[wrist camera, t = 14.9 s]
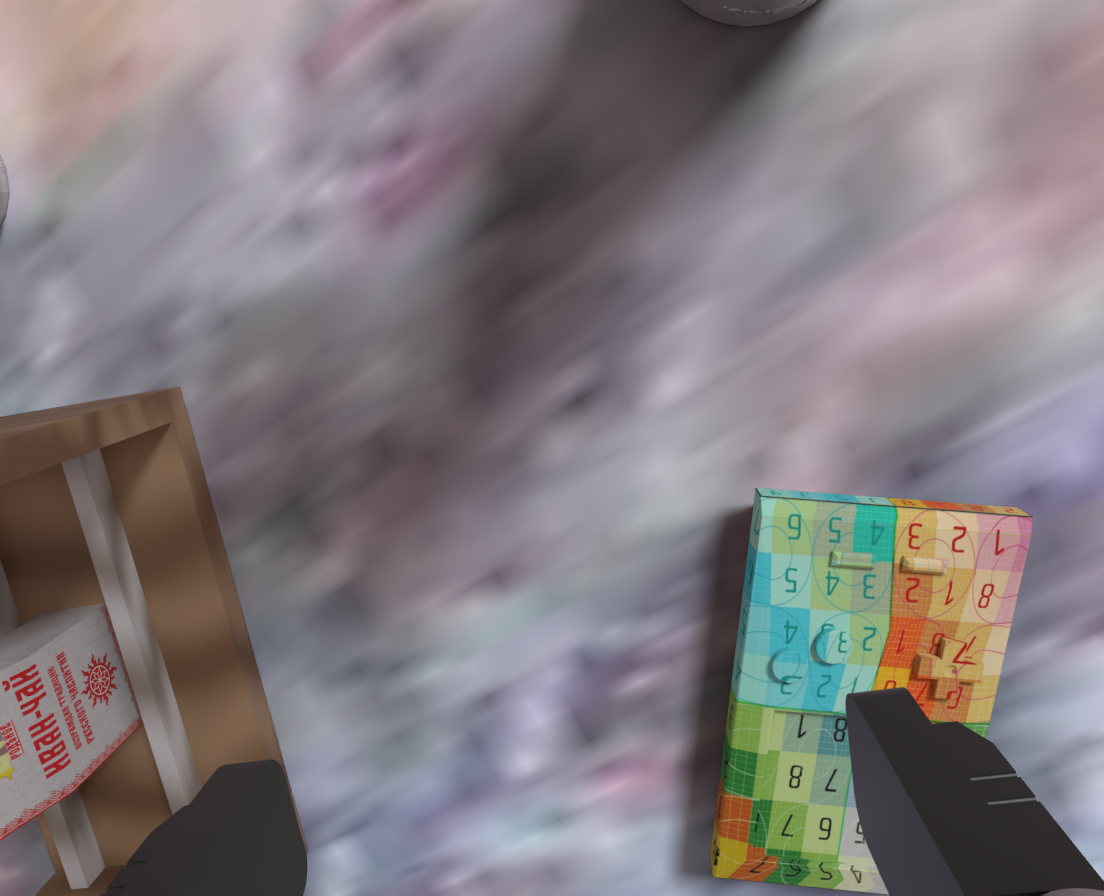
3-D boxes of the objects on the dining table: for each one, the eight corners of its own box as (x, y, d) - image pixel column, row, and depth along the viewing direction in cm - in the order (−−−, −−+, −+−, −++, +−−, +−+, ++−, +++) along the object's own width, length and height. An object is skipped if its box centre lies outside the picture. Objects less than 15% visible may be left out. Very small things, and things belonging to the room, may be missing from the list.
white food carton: (82, 728, 43) (-72, 866, 33) (41, 613, 41) (-134, 722, 32) (146, 719, 42) (9, 856, 33) (106, 602, 41) (-50, 709, 31)
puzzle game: (1043, 523, 34) (959, 916, 38) (992, 491, 38) (922, 846, 43) (764, 501, 34) (714, 891, 39) (746, 473, 39) (703, 825, 44)
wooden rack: (-76, 429, 41) (-472, 528, 26) (179, 386, 39) (-83, 463, 24) (80, 875, 47) (-170, 1167, 32) (308, 851, 45) (159, 1145, 30)
